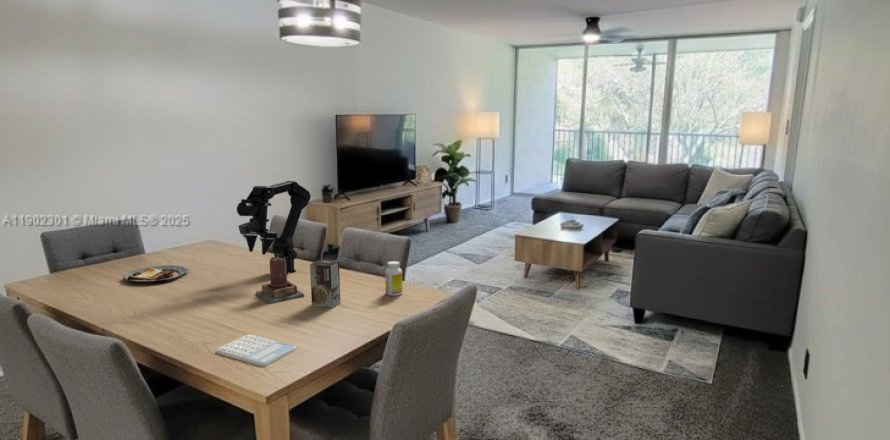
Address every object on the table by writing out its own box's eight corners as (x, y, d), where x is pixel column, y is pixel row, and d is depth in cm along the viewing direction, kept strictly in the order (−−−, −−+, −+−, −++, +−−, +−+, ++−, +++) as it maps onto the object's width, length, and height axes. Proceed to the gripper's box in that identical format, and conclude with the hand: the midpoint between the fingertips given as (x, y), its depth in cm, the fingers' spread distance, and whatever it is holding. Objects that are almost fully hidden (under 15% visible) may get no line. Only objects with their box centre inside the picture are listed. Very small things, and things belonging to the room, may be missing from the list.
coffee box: (341, 302, 204) (340, 261, 201) (332, 308, 198) (331, 266, 195) (320, 300, 207) (318, 259, 204) (310, 305, 201) (309, 263, 198)
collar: (289, 287, 221) (289, 278, 220) (304, 296, 210) (303, 286, 210) (255, 294, 213) (255, 284, 212) (268, 303, 202) (268, 293, 201)
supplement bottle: (405, 292, 217) (405, 261, 214) (397, 297, 211) (396, 265, 208) (390, 290, 219) (390, 259, 217) (382, 294, 213) (382, 263, 211)
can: (285, 289, 216) (283, 255, 213) (289, 293, 210) (287, 258, 208) (269, 291, 213) (267, 257, 210) (273, 296, 207) (271, 260, 205)
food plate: (168, 286, 221) (167, 277, 221) (112, 285, 222) (111, 277, 221) (197, 270, 246) (196, 263, 245) (146, 270, 246) (146, 262, 246)
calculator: (249, 338, 172) (249, 332, 172) (297, 350, 163) (297, 344, 163) (215, 354, 160) (214, 348, 160) (264, 368, 152) (264, 362, 151)
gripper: (229, 213, 225) (227, 251, 225) (255, 217, 214) (252, 256, 214) (253, 214, 234) (251, 250, 234) (279, 218, 222) (276, 256, 223)
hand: (257, 253), depth 226 cm, fingers open, 9 cm apart
